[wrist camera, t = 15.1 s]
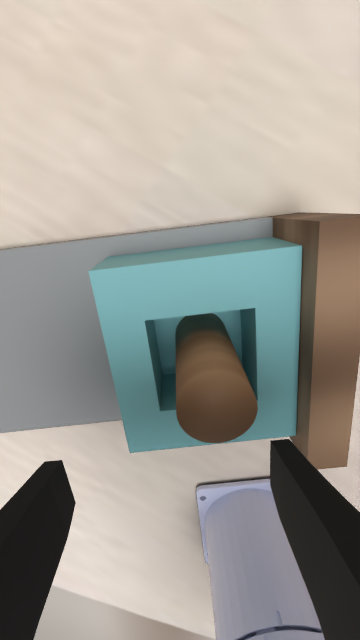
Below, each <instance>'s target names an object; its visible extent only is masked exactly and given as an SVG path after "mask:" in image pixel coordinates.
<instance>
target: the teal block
mask: <svg viewBox="0 0 360 640" xmlns="http://www.w3.org/2000/svg"><path fill="white" fill-rule="evenodd" d="M301 269H302V245H299V244H295V243H292V242H288V241H285V240H281V239H278V238H274V237H267V238H259V239H251V240H242V241H234V242H226V243H218V244H209V245H201V246H193V247H184V248H176V249H168V250H159V251H151V252H143V253H134V254H126V255H118V256H110V257H107V258H106V259H104V260H103V261H102V262H100V263H99V264H97V265H96V266H95V267H93V268H92V269H91V270H89V271H88V272H89V276H90V281H91V285H92V289H93V294H94V298H95V302H96V307H97V311H98V316H99V320H100V324H101V329H102V333H103V337H104V342H105V346H106V351H107V355H108V359H109V364H110V368H111V372H112V377H113V381H114V386H115V390H116V394H117V399H118V403H119V407H120V412H121V416H122V421H123V425H124V429H125V434H126V438H127V442H128V447H129V451H130V453H134V452H143V451H153V450H162V449H172V448H182V447H191V446H201V445H210V444H220V443H206V442H202V441H199V440H196V439H194V438H192V437H191V436H189V435H188V434H187V433H186V432H185V431H184V430H183V429H182V428H181V426H180V425H179V422H178V420H177V415H176V343H175V333H176V328H177V326H178V324H179V322H180V321H181V320H182V318H184V317H185V316H189V315H198V314H207V313H213V314H215V315H217V316H218V317H219V318H220V319H221V320H222V321H223V323H224V325H225V327H226V330H227V332H228V334H229V337H230V339H231V341H232V344H233V346H234V348H235V351H236V353H237V355H238V357H239V360H240V362H241V364H242V367H243V369H244V371H245V374H246V376H247V378H248V381H249V383H250V385H251V387H252V390H253V392H254V394H255V397H256V400H257V405H258V411H257V416H256V419H255V421H254V423H253V424H252V426H251V427H250V428H249V429H248V430H247V431H246V432H245V433H244V434H242V435H241V436H239V437H238V438H236V439H233V440H231V441H228V442H223V443H229V442H239V441H249V440H258V439H268V438H277V437H287V436H296V421H297V391H298V361H299V330H300V300H301Z"/></svg>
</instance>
